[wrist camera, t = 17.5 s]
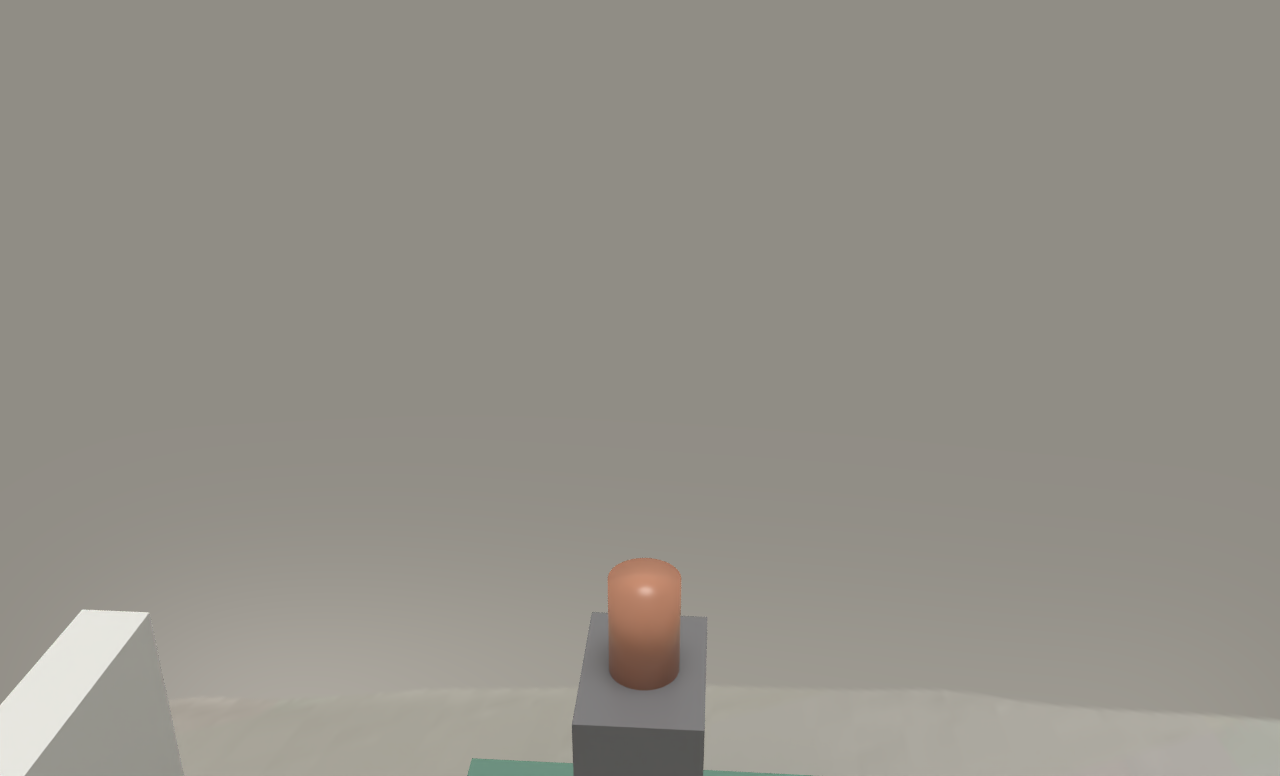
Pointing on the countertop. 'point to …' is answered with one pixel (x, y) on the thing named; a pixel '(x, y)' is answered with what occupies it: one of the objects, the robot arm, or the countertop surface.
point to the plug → (642, 680)
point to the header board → (559, 769)
